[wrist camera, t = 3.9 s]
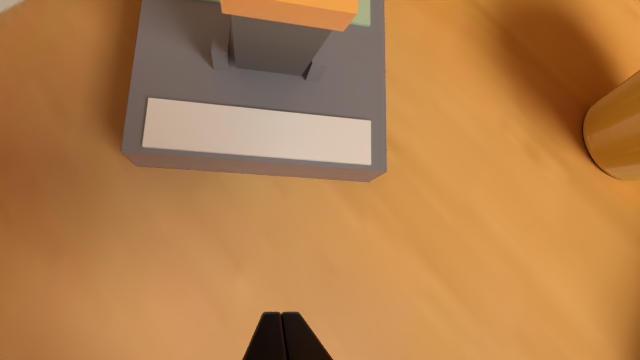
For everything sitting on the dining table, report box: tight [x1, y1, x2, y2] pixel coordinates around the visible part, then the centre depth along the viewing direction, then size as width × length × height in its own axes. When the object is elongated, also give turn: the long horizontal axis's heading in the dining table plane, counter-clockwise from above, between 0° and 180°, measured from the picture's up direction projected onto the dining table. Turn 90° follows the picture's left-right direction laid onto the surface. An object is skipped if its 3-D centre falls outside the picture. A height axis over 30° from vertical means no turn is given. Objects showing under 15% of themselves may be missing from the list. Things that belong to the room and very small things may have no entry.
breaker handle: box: [220, 0, 358, 76], centre depth 16 cm, size 2×4×11 cm, turn 89°
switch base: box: [121, 0, 387, 182], centre depth 22 cm, size 12×14×5 cm
